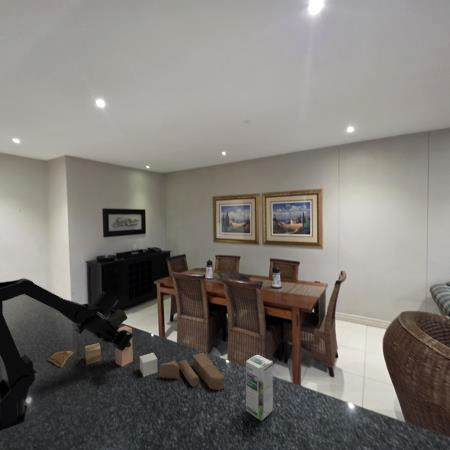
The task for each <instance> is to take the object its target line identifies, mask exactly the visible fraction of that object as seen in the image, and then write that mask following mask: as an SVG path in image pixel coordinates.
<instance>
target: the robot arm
mask: <svg viewBox="0 0 450 450" xmlns="http://www.w3.org/2000/svg"><path fill="white" fill-rule="evenodd" d="M23 295H24V296H27V297H30V298H31V299H34V300H35V301H37V302H39V303H41V304H44V305H46V306H48V307H50V308H52V309H54V310H56V312H58V313H59V314H60V315H61V316H62V317H64V318H65V319H67V320H68V321H70V322H72V323H73V324H75V330H74V331H75V332H76V333H78V334H80V335H81V334H83V332H84V330H85V331H87V332H89V333H90V334H92V335H93V336H94V337H95V338H97V339H99V340H102V341H103V342H105V343H109V344H110V343H111V344H112V346H113V347H114V349H115V348H117V349H119V350H121V351H123V350H124V349H125V347H130V346H131V343H130V342H129V341H130V339H131V338H132V339H133V336H134V335H133V332H132V333H130V332H128V331H126V330H122V331H120V332H118V331H117V330H118V329H119V328H121V327H120V326H121V324H123V323H124V322H125V321H127V320H128V316H127V314H126V312H125V310H122V309H115V310H114V307H115V306H116V305H117V303H119V300H118V299H117V298H116V297H115V296H111V295H110V294H108V293H107V292H105V291H101V292H100V294H99V296H98V297H97V299H96V300H95V301H94V302H93V304H92V303H90V302H89V303H82V304H81V303H80V302H77V301H73V300H69V299H65V298H62V297H61V296H58V295H57V294H55V293H54V292H51V291H49V290H47V289H46V288H44V287H41V286H40V285H38V284H37V283H35V282H34V281H32V280H30V279H28V278H25V277H24V278H19V279H15V280H8V281H2V282H1V281H0V361H1V374H2V379H1V380H0V430H2V429H5V428H8V427H11V426H14V425H16V424H19V423H22V422H24V421H25V420H26V416H27V412H28V405H25V399H27V396H28V392H29V390H30V388H31V386H32V385H33V384H34V382H35V379H36V375H35V374H37V370H36V369H35V368H34V365H33V364H34V363H33V360H32V359H31V358H30V357H29V356H28V355H27V354H24V355H23V356H21V355H20V352H19V350H18V348H17V345H16V342H15V341H14V338H13V335H12V334H11V331H10V328H9V326H8V322H7V321H6V319H5V316H4V308H3V307H4V305H3V304H4V303H3V302H6V301H8V300H11V299H14V298H17V297H19V296H23ZM99 314H100V315H99ZM105 315H106V316H107V318H104V317H105ZM102 316H103V317H102ZM116 334H117V335H116ZM115 338H116V339H115Z"/></svg>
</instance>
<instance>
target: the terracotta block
mask: <svg viewBox="0 0 450 450" xmlns="http://www.w3.org/2000/svg"><path fill="white" fill-rule="evenodd" d="M122 330H126V331H128V332H130V333H132V334H133V328H132V327H129V326H128V325H123V326H121V327H120V328H119V329H118V330H117V331H118V332H120V331H122ZM116 335H117V334H116ZM115 339H116V338H115ZM129 342H130V343H131V346H130V347H125V349H124V350H123V351H121V350H119V349H117V348H115V347H114V349H115V354H114V355H115V363H116V364H117V366H120V367H121V368H123V367H125V366H127V365H128V364H130V363H132V362H133V361H134V360H133V337H132V338H131V339H130V341H129Z"/></svg>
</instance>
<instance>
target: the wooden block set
mask: <svg viewBox="0 0 450 450" xmlns="http://www.w3.org/2000/svg"><path fill="white" fill-rule="evenodd" d="M180 371H181V373H182V374H183V376H184V377H185V379H186V381H187V382H188V383H189V385H190V386H191V387H193V388H195V387H197V386H198V385H199V384H200V378H201V379H202V380H203V381H204V383H206V385H207V386H208V388H209V389H210V390H215V391H221V390H224V388H225V376H224V375H223V374H222V373H221V372H220V371H219V370H218V368H217V367H216V366H215V364H214V363H213V362H212V360H211V359H210V358H209V357H208V356H207V355H206V354H205V353H204V352H201V353H196V354H193V355H192V367H191V365H190V364H189V363H188V361H187V360H186V359H182V360H180V361H179V363H177V362H176V360H172V361H169V362H165V363H161V364H159V378H163V379H171V380H180ZM197 374H198V375H197ZM199 377H200V378H199Z"/></svg>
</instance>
